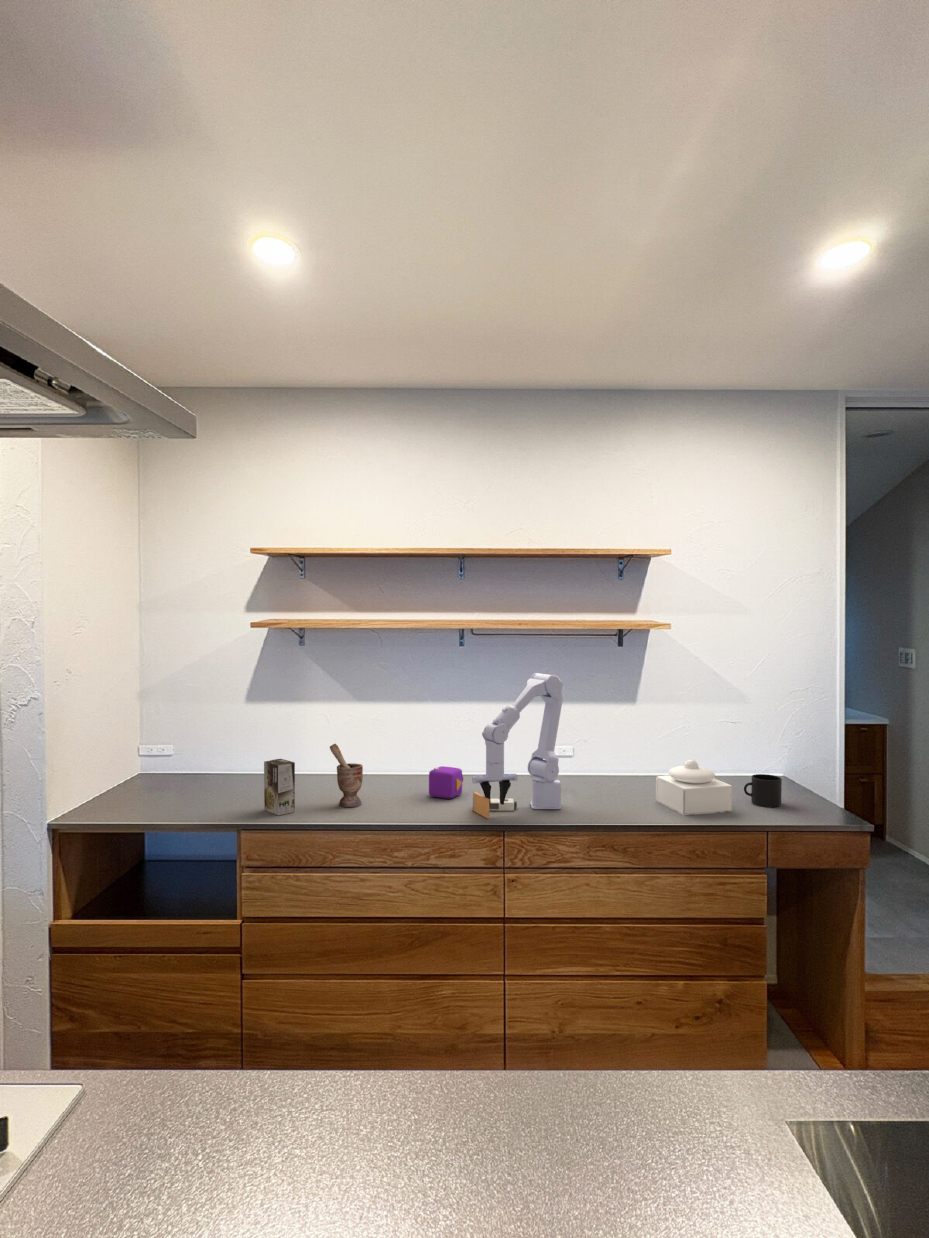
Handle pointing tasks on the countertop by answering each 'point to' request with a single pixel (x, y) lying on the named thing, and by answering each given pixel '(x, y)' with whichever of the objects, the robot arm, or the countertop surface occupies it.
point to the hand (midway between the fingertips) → (494, 804)
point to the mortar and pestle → (348, 779)
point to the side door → (481, 805)
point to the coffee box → (279, 786)
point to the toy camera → (445, 782)
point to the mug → (765, 790)
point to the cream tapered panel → (508, 805)
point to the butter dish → (693, 790)
